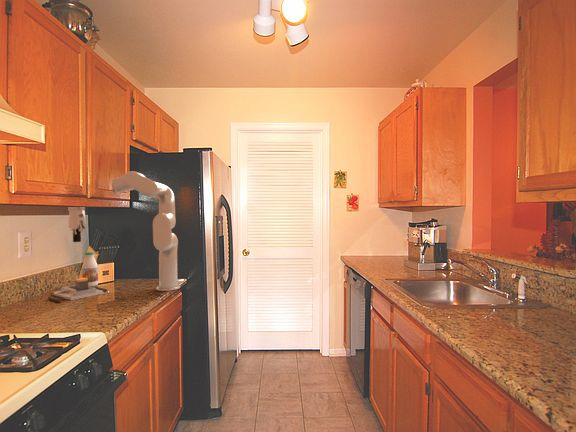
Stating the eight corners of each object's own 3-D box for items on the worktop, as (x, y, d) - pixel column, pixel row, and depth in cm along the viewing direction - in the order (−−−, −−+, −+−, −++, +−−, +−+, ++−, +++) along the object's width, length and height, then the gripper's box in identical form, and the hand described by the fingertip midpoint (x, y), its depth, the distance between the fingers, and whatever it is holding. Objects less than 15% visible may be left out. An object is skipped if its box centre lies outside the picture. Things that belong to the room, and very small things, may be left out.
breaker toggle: (84, 290, 165) (84, 277, 165) (88, 291, 163) (87, 278, 163) (76, 292, 162) (75, 278, 162) (79, 293, 160) (79, 279, 160)
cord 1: (48, 299, 155) (48, 297, 155) (51, 298, 156) (51, 296, 156) (59, 303, 148) (59, 300, 148) (62, 302, 149) (62, 300, 149)
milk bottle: (80, 286, 183) (79, 252, 183) (94, 283, 190) (93, 250, 190) (86, 287, 179) (85, 253, 179) (100, 285, 185) (99, 251, 185)
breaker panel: (85, 288, 176) (84, 282, 176) (103, 293, 165) (102, 287, 165) (53, 294, 164) (53, 288, 164) (70, 300, 153) (70, 293, 153)
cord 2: (91, 289, 176) (91, 287, 176) (96, 288, 178) (96, 286, 178) (102, 292, 169) (102, 290, 169) (107, 291, 171) (107, 289, 171)
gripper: (90, 208, 170) (91, 241, 170) (77, 208, 178) (78, 240, 179) (75, 208, 164) (75, 243, 164) (62, 208, 172) (63, 241, 172)
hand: (77, 241), depth 171 cm, fingers closed
